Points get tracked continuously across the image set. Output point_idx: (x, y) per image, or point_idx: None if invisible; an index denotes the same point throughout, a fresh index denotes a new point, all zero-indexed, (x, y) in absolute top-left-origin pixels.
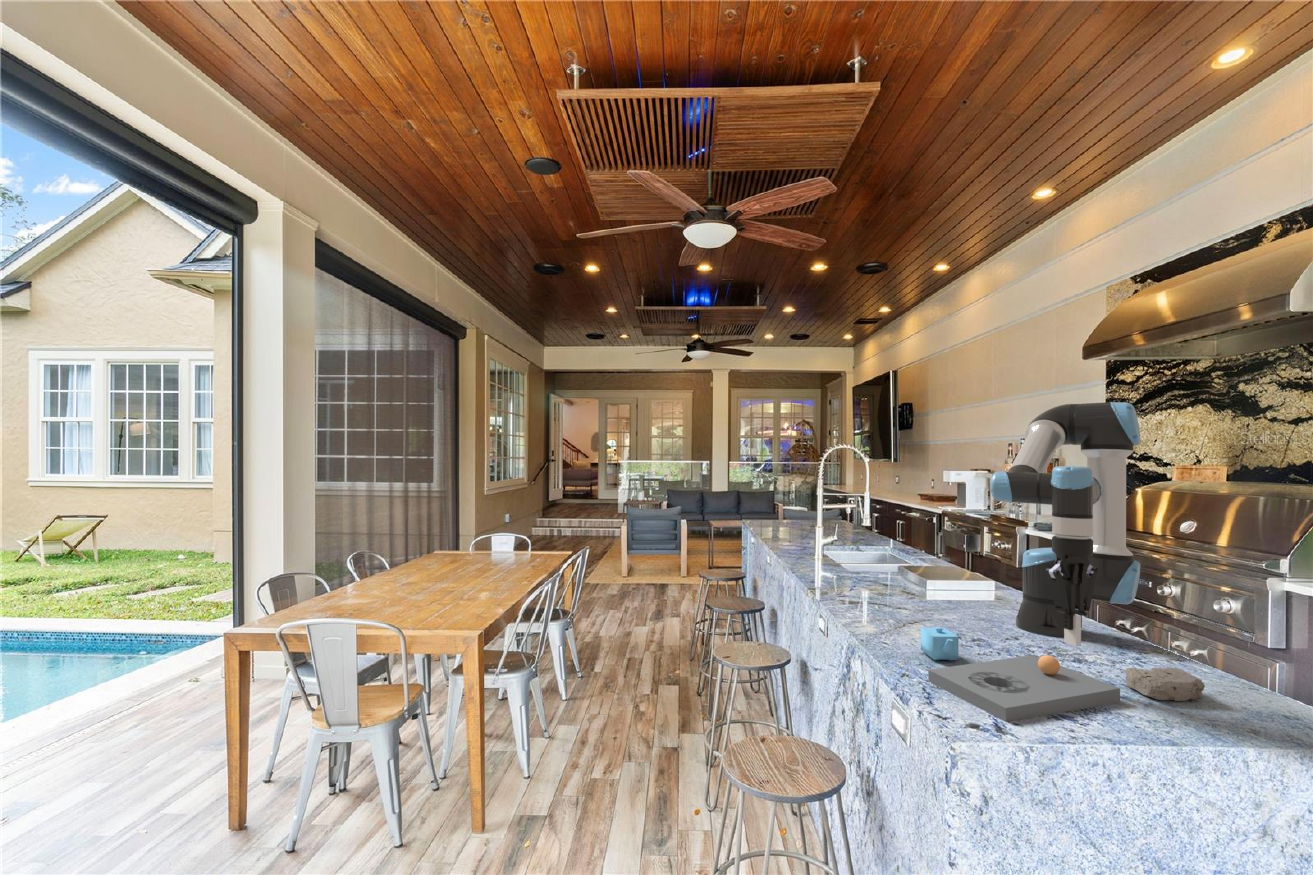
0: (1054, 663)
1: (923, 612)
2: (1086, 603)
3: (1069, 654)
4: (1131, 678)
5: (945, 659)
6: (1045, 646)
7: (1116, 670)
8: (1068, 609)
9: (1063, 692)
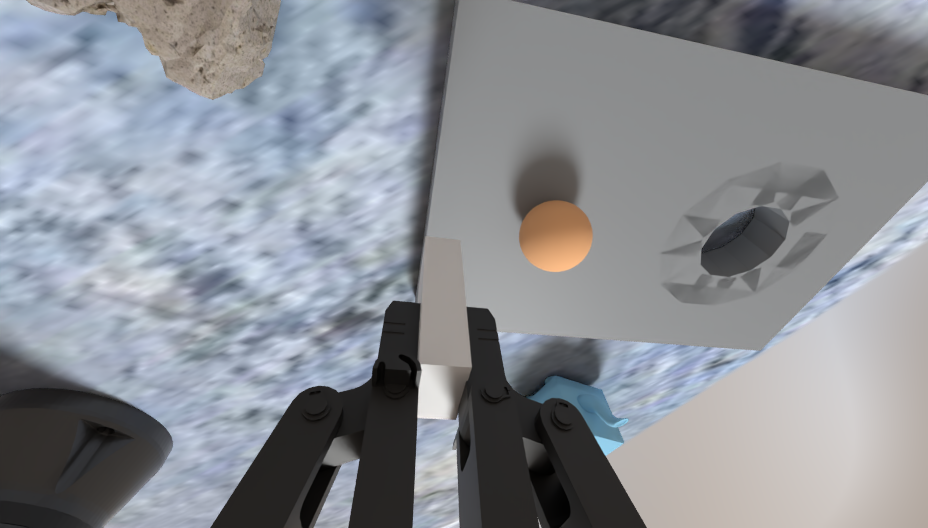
0: (578, 220)
1: (326, 519)
2: (319, 458)
3: (196, 317)
4: (253, 48)
5: (579, 383)
6: (218, 367)
7: (143, 187)
8: (552, 425)
9: (705, 94)
